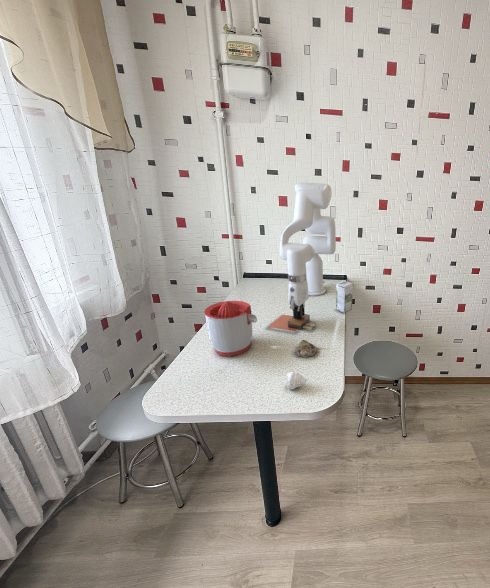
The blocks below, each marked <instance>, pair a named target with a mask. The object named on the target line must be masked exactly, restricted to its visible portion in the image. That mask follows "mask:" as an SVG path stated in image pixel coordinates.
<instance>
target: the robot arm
mask: <svg viewBox="0 0 490 588" xmlns="http://www.w3.org/2000/svg"><path fill="white" fill-rule="evenodd" d="M294 193H295V199H294V209H293V219H292V221H291V222H290V223H288V225H287V226H285V228H284V229H283V231H282V233H281V234H280V239H279V241H280V242H279V251H278V253H279V257H280V259H281V260H283V261H286V265H287V281H288V293H287V295H288V296H287V297H288V304H289V309H290V310H292V316H293V318H294V319H301V314H300V311H299V306H300V305H302V316H304V315H305V314H306V312H305V306H306V304H305V302H307V301H308V300H309V297H310V296H320V295H323V294H325V293H326V291H327V290H326V288H325V287H324V284H325V281H324V274H323V273H324V269H323V268H324V263H323V259H322V258H321V256H320V255H333V254H335V252H336V250H337V237H336V236H337V235H336V234H337V233H336V229H337V227H336V221H335V219H334V217H332V216H327V215H322V214H321V210H326V209H327V208H328V207H329V206H330V202H331V200H332V196H333V191H332V187H331V186H330V185H329V184H328V183H320V182H319V183H318V182H298V183H296V184H295V186H294ZM303 230H304V231H305V232H306V233H307V234H309V235H307V236H305V237H303V239H302V241H301V242H302V243H298V242H297V243H296V242H289V240H290V239H291V237H292V236H293V235H295V234H296V233H298V232H301V231H303ZM295 306H297V307H295Z"/></svg>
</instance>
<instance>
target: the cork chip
mask: <svg viewBox="0 0 490 588" xmlns="http://www.w3.org/2000/svg"><path fill="white" fill-rule="evenodd" d="M315 326H316V324H314V323H309V322H308V323H306V324H305V325H304V326H303V328H302V329H307V330H313V328H314V327H315Z"/></svg>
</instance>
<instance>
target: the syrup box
mask: <svg viewBox="0 0 490 588" xmlns="http://www.w3.org/2000/svg"><path fill="white" fill-rule="evenodd" d="M353 284H354V283H352V282H350V281H348V280H342V281H340V282H337V283H336V284H335V285H336V287H335V288H336V291H335V296H336V297H335V309H336V310H338V312H339V313H343V314H345V313H349V312H350V311H352V310H353V289H354V288H353V287H354V285H353Z"/></svg>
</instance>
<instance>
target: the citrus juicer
mask: <svg viewBox="0 0 490 588" xmlns="http://www.w3.org/2000/svg"><path fill="white" fill-rule="evenodd" d="M203 314H204V316H205V321H206V328H207V332H208V333H207V334H208V339H209V342H210V343H211V345H212V349H213V350H214V351H215V352H216V354H217V355H219V356H223V357H234V356H235V357H236V356H239V355H242V354H244V353H245V352H247V351H249V348H250V346H251V344H252V339H253V323H257V322H258V317H257V316H256V315H255V314H253V313H252V306H251V305H250V303H248V302H246V301H243V300H224V301H220V302H215V303H213V304H211V305H208V306H207V307H206V308H205V309H204V311H203Z"/></svg>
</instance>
